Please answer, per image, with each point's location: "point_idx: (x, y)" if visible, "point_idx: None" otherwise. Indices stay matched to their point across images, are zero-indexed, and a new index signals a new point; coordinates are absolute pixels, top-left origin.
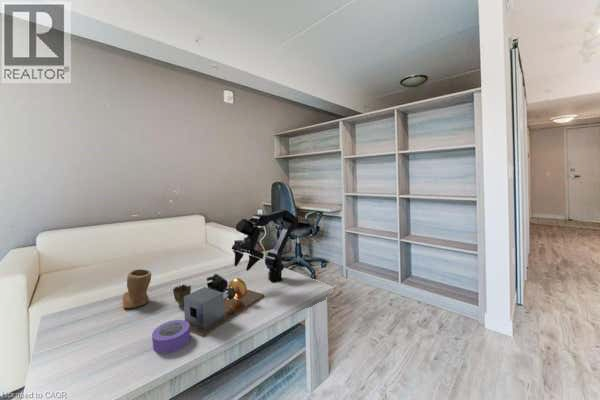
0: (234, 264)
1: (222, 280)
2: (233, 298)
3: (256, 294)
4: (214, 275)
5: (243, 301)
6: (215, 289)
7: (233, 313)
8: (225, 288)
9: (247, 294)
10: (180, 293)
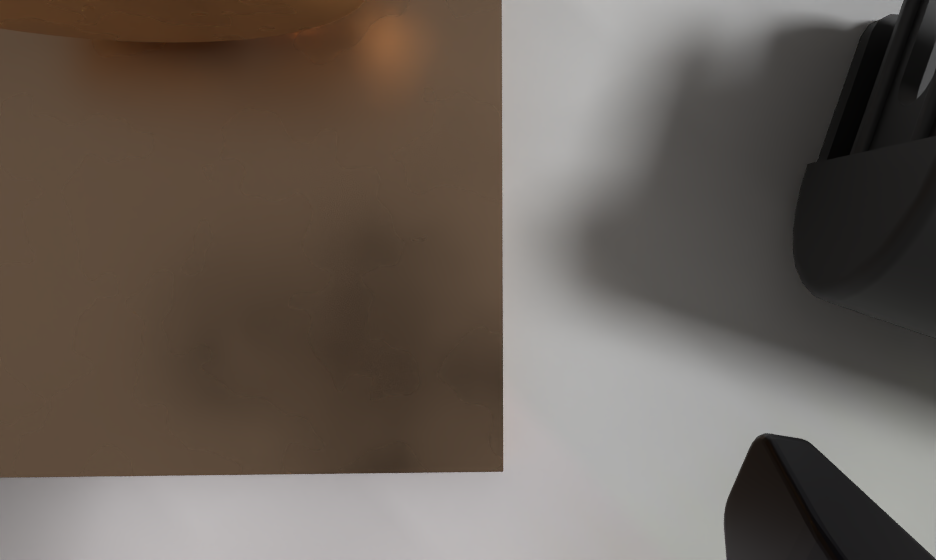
0: (850, 481)
1: (932, 147)
2: None
3: (27, 390)
4: None
5: None
6: (906, 7)
7: None
8: (797, 232)
9: (193, 292)
10: None
